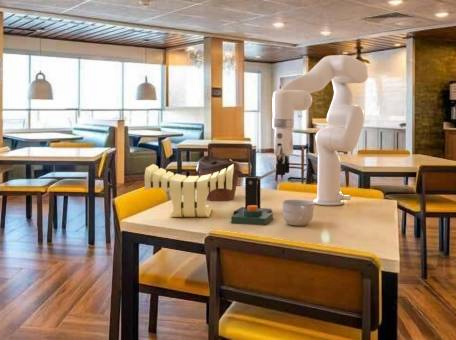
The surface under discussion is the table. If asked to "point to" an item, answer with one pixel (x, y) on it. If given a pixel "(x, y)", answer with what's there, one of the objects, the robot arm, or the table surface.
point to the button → (252, 208)
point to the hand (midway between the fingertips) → (282, 173)
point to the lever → (267, 174)
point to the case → (217, 164)
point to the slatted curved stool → (188, 189)
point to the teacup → (298, 212)
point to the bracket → (252, 194)
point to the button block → (252, 217)
